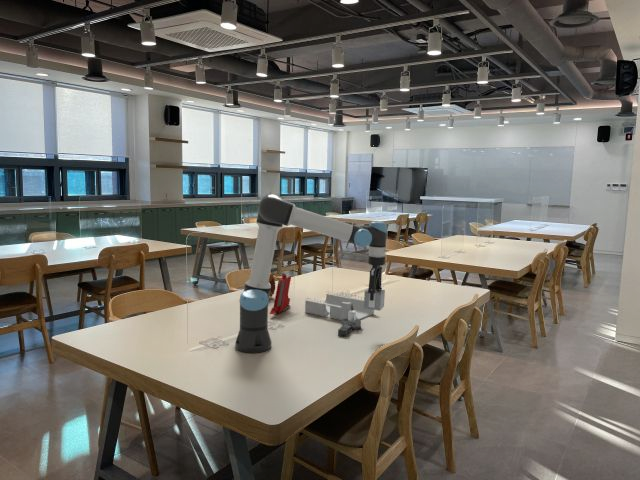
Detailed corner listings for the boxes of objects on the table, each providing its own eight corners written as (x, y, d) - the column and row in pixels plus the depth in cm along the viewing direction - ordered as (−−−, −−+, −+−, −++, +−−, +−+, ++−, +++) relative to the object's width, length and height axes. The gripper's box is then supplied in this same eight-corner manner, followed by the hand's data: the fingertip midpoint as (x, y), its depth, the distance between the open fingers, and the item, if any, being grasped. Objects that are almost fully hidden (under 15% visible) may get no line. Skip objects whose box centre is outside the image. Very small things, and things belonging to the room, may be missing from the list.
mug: (247, 299, 281) (247, 274, 279) (269, 295, 292) (270, 271, 290) (257, 303, 273) (257, 277, 271) (280, 299, 284) (280, 274, 282)
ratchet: (351, 337, 216) (351, 320, 215) (332, 334, 219) (333, 317, 218) (362, 325, 234) (363, 310, 233) (345, 323, 237) (346, 307, 236)
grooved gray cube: (380, 310, 213) (381, 293, 212) (363, 308, 215) (364, 291, 215) (383, 306, 220) (384, 289, 219) (368, 304, 223) (368, 288, 222)
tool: (278, 314, 242) (286, 267, 250) (268, 313, 243) (276, 266, 251) (289, 322, 265) (296, 279, 272) (279, 321, 266) (287, 278, 274)
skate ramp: (373, 314, 256) (374, 294, 255) (347, 325, 234) (348, 303, 233) (328, 304, 273) (328, 286, 272) (299, 314, 251) (299, 294, 250)
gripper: (379, 259, 204) (376, 311, 207) (389, 253, 223) (386, 301, 226) (362, 258, 207) (360, 309, 209) (374, 252, 226) (371, 299, 228)
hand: (374, 305), depth 218 cm, fingers closed on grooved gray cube, 8 cm apart
